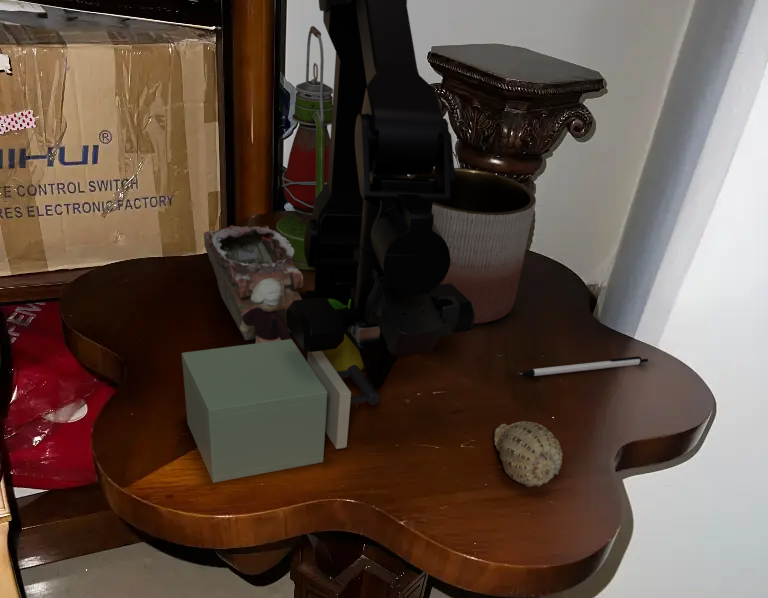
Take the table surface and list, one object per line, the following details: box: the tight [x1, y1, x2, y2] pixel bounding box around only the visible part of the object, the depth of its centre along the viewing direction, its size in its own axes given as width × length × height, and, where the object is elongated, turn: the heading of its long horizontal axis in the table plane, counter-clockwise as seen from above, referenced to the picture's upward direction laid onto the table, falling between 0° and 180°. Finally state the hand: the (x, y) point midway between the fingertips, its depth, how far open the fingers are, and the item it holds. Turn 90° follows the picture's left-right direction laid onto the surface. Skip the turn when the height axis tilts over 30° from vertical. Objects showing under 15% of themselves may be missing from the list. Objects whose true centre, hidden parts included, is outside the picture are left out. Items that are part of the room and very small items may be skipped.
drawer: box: [306, 351, 381, 450], centre depth 81 cm, size 15×9×7 cm, turn 114°
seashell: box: [494, 421, 563, 488], centre depth 82 cm, size 8×6×10 cm
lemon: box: [322, 299, 364, 372], centre depth 90 cm, size 7×6×10 cm
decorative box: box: [203, 224, 304, 341], centre depth 100 cm, size 13×20×10 cm, turn 17°
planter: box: [408, 167, 537, 326], centre depth 106 cm, size 18×18×16 cm
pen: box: [520, 355, 649, 377], centre depth 99 cm, size 1×19×1 cm, turn 110°
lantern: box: [276, 25, 334, 271], centre depth 109 cm, size 14×11×30 cm
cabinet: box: [181, 338, 327, 484], centre depth 79 cm, size 12×11×9 cm
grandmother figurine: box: [239, 278, 292, 344], centre depth 86 cm, size 8×4×13 cm, turn 65°
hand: (375, 387), depth 83 cm, fingers closed
